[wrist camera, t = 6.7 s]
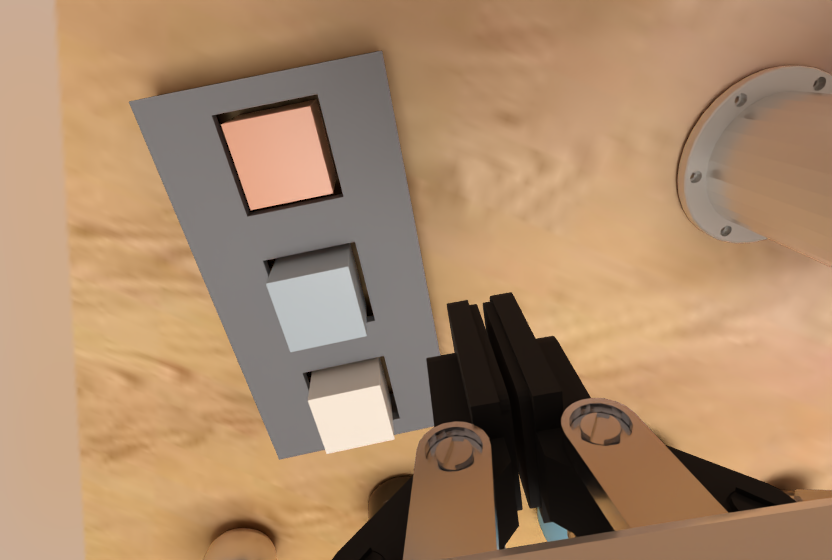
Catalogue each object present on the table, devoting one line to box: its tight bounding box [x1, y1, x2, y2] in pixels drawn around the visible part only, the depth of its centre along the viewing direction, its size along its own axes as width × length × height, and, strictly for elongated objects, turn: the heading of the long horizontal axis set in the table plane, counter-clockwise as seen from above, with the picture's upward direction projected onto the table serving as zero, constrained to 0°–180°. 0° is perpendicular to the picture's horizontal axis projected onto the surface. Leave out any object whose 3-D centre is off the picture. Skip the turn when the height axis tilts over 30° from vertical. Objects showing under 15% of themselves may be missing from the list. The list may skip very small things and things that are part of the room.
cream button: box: [308, 357, 394, 454], centre depth 36 cm, size 5×5×4 cm
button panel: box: [129, 51, 440, 460], centre depth 34 cm, size 14×27×4 cm, turn 10°
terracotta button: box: [221, 99, 336, 210], centre depth 29 cm, size 5×5×4 cm
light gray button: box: [266, 243, 367, 352], centre depth 32 cm, size 5×5×4 cm
